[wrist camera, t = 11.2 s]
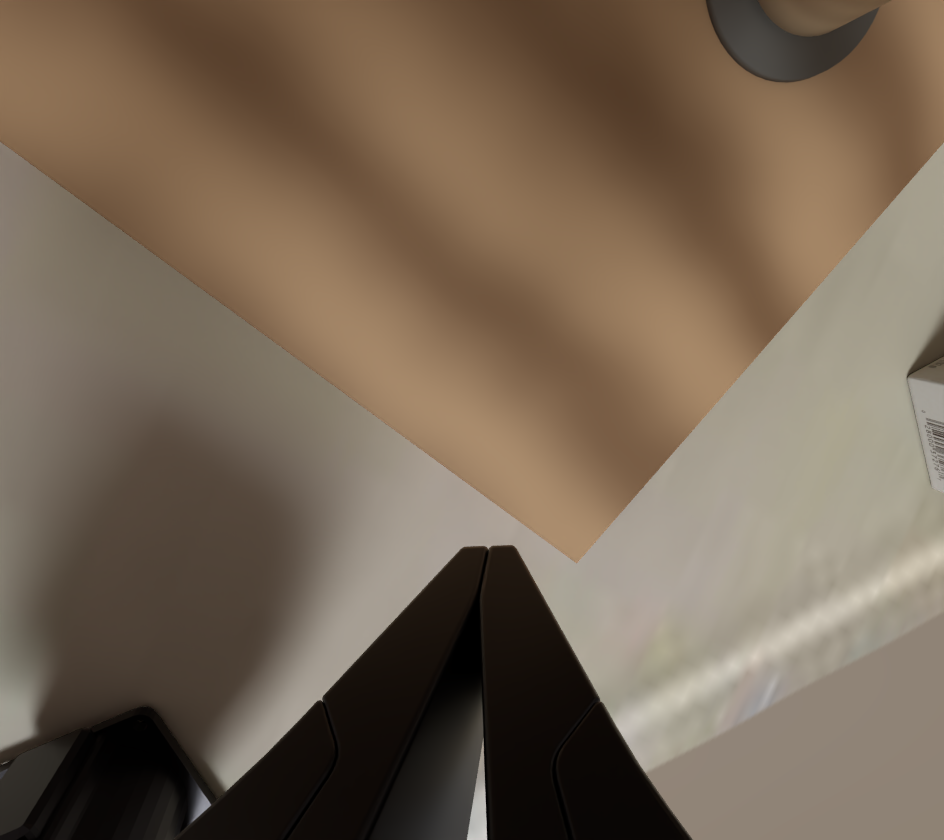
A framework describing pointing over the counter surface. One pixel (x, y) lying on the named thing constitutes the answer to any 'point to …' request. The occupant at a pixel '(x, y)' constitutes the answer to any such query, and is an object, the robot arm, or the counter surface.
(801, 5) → the folding leg
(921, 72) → the stool seat
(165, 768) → the robot arm
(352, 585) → the counter surface
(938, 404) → the coffee box
